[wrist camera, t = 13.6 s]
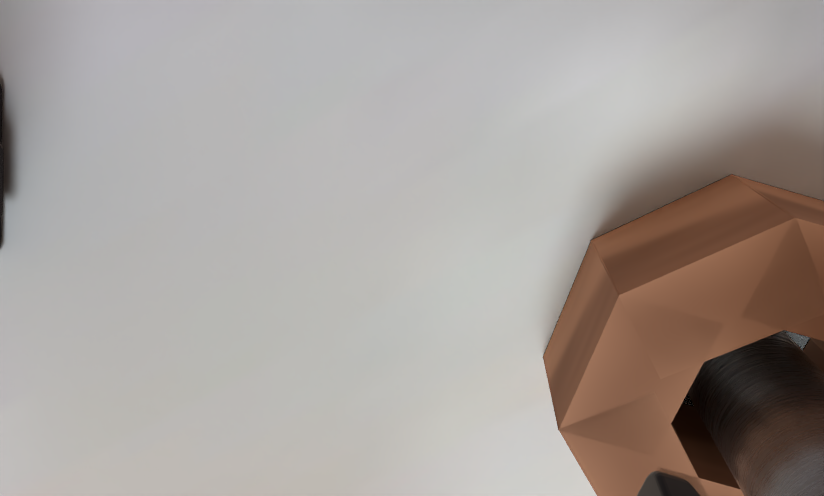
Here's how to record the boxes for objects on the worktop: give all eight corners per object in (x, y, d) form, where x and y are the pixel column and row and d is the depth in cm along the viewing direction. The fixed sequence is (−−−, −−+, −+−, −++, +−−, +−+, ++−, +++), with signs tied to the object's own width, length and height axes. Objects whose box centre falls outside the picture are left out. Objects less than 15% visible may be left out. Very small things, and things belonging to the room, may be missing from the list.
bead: (513, 428, 23) (521, 510, 19) (630, 144, 19) (669, 181, 15) (795, 506, 23) (857, 602, 20) (972, 243, 19) (1093, 302, 16)
